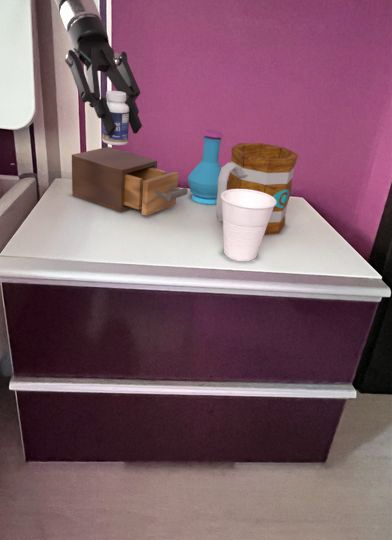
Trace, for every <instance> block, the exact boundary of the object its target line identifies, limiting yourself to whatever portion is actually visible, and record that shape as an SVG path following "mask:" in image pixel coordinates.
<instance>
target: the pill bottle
mask: <svg viewBox="0 0 392 540" xmlns="http://www.w3.org/2000/svg"><path fill="white" fill-rule="evenodd" d="M105 100H106V102H107V105H108V108H109V110H110V113H111V115H112V118H113V120H114V123H115V126H116V129H115V130H114V131H113V133H112V134H111V135H108V134H107V132H106V129H105V127H104V124H103V123H102V126H101V127H102V129H101V130H102V132H101V134H102V135H101V140H102V142H103V143H104V144H107V145H111V146H125V145H127V144H128V143H129V131H130V130H129V129H130V128H129V126H130V123H129V107H128V105H126V104H125V101H126V93H124V92H121V91H117V90H107V91H106V93H105Z"/></svg>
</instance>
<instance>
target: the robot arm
mask: <svg viewBox="0 0 392 540" xmlns="http://www.w3.org/2000/svg"><path fill="white" fill-rule="evenodd" d="M54 2H55V5H56V7H57V10H58V13H59V15H60V18H61V19H62V22H63V25H64V28H65V29H66V33H67V35H68V38H69V40H70V43H71V46H72V48H73V49H69V50H68V52H67V54H66V55H65V58H64V62H65V64H66V65H67V66H68V68H69V69H70V72H71V75H72V77H73V80H74V83H75V86H76V89H77V91H78V94H79V97H80V100H81V101H82V103H89V104H88V105H89V107H90V108H92V109H94V112H95V114H96V117H97V118H98V119H101V121H102V124H104V127H105V129H106V132H107V134H108V135H111V134H112V133H113V131H114V130H115V129H116V126H115V123H114V120H113V118H112V115H111V113H110V110H109V108H108V105H107V99H106V97H101V91H100V82H99V73H98V72H102V73H103V75H104V76H105V77H106V78H108V79H109V81H110V82H111V84H112V85H113V87H114V88H115V91H121V92H124V93H126V101H125V104H126V105H128V107H129V126H130V128H131V130H132V133H133V134H135V135H136V134H137V133H138V132H139V131H140V129H142V127H143V124H142V121H141V119H140V117H139V113H140V110H139V108H138V105H137V102H136V100H137V99H138V98H139V96H140V95H141V90H140V87H139V85H138V83H137V81H136V79H135V76H134V74H133V71H132V69H131V67H130V64H129V61H128V54H127V52H126V51H121V53H118V52H116V51H115V49H114V48H112V46H111V45H110V42H109V35H108V32H107V29H106V28H105V25H104V23H103V21H102V17H101V14H100V11H99V9H98V7H97V5H96V3H95V0H54ZM82 64H83V65H84V66H85V71H84V69H83V66H82ZM85 73H86V75H85Z"/></svg>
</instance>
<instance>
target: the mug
mask: <svg viewBox="0 0 392 540" xmlns="http://www.w3.org/2000/svg"><path fill="white" fill-rule="evenodd" d="M298 157H299V154H298V153H297V152H294V151H292V150H290V149H288V148H286V147H285V146H284V147H283V146H278V145H273V144H267V143H263V142H239V143H237V144H235V145H233V147H232V148H231V160H230V161H231V162H227V163H225V165H223V166H221V171H220V175H219V178H218V194H217V203H216V204H215V214H216V219H217V220H218V221H219V222H221V223H223V213H222V198H221V193H222V192H224V191H226V190H231V189H249V190H255V191H259V192H263V193H266V194H268V195H270V196H272V197H273V198H275V200H276V205H275V206H274V208H273V211H272V214H271V217H270V220H269V222H268V225H267V228H266V230H265V233H264V236H266V235H277V234H280V233H281V232H282V230H283V229H284V228H285V226H286V213H287V207H288V203H289V201H290V196H291V193H292V188H293V187H292V186H293V178H294V172H295V167H296V164H297V160H298ZM227 179H228V183H227Z"/></svg>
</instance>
